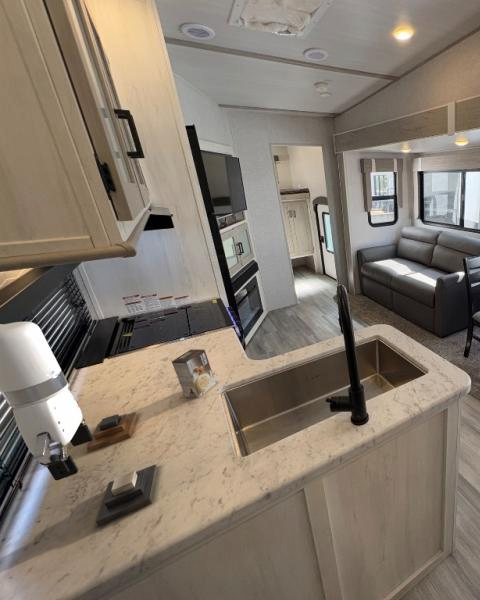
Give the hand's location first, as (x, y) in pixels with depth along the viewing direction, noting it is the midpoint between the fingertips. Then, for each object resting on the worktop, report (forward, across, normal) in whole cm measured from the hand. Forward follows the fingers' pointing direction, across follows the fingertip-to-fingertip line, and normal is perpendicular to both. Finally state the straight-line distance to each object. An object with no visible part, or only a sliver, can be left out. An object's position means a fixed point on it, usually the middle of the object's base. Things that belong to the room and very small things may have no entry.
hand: (76, 458), depth 62 cm
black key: (+18, -41, -8) cm, 46 cm away
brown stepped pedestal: (+22, -41, -8) cm, 47 cm away
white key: (+18, -9, +1) cm, 20 cm away
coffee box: (+22, -51, +16) cm, 58 cm away
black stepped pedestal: (+22, -9, +1) cm, 24 cm away
